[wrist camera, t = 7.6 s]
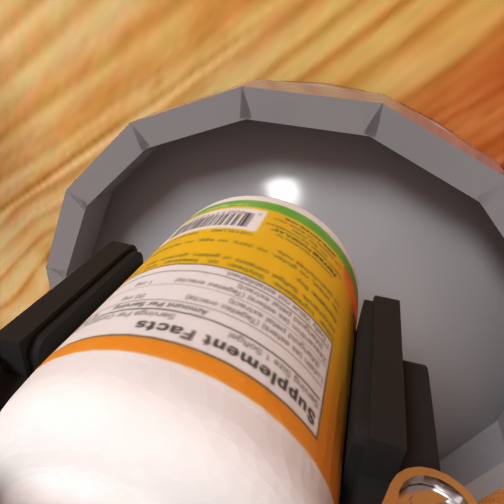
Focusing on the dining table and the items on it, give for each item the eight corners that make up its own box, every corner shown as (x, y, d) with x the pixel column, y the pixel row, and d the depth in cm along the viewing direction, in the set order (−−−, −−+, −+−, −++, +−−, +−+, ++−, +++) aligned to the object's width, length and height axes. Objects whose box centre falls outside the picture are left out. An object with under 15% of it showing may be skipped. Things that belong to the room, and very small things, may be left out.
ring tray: (670, 123, 14) (735, 146, 11) (456, 519, 24) (464, 578, 22) (61, 52, 18) (7, 57, 15) (108, 414, 29) (80, 452, 26)
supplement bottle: (288, 383, 14) (141, 924, 6) (148, 288, 14) (-226, 703, 5) (404, 270, 11) (456, 1028, 3) (229, 148, 11) (-299, 568, 2)
